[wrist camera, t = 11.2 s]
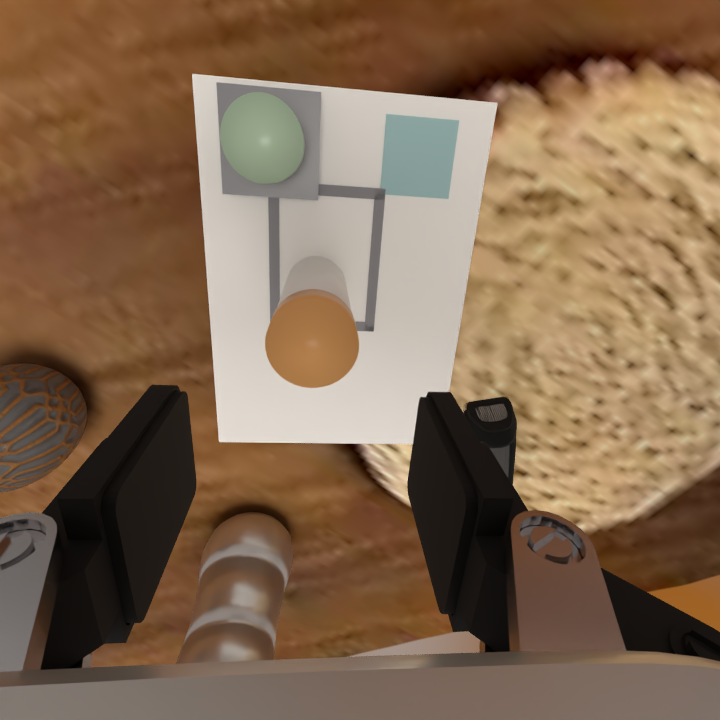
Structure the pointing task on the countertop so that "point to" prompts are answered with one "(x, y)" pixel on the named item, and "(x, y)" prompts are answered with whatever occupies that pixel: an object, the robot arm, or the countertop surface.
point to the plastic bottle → (239, 591)
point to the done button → (262, 138)
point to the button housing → (309, 117)
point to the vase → (36, 422)
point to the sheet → (347, 261)
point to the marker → (313, 326)
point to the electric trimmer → (495, 429)
